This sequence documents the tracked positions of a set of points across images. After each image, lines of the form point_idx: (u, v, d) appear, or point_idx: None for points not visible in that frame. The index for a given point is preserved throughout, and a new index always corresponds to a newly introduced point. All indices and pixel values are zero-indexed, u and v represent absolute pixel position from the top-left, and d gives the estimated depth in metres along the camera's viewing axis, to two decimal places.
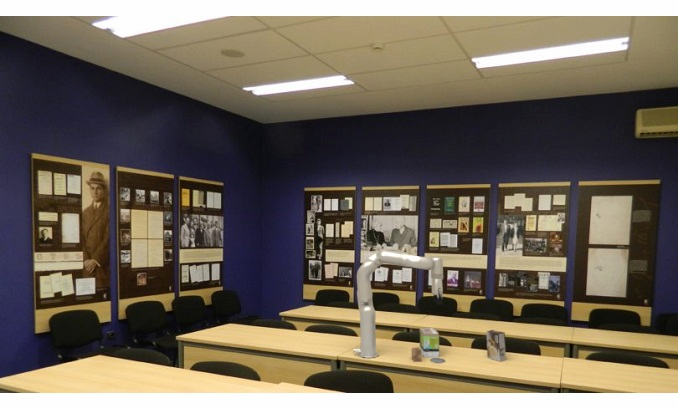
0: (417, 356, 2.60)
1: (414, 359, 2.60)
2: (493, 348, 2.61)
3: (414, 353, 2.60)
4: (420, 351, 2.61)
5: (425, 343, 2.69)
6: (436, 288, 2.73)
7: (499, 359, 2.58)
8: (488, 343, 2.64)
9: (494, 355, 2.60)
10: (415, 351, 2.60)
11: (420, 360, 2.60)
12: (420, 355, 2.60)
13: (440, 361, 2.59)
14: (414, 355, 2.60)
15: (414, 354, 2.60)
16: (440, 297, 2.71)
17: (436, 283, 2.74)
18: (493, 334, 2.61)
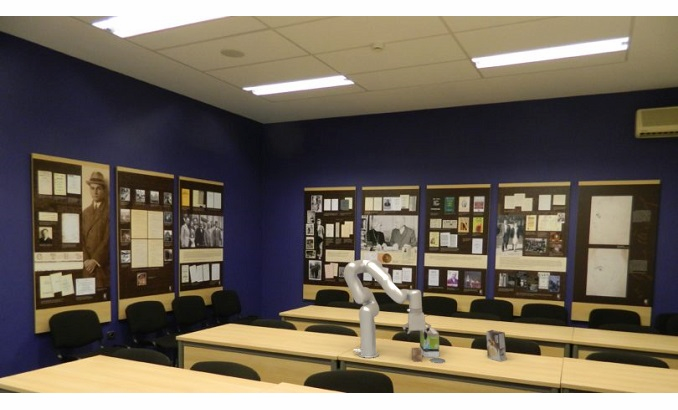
0: (417, 356, 2.60)
1: (414, 359, 2.60)
2: (493, 348, 2.61)
3: (414, 353, 2.60)
4: (420, 351, 2.61)
5: (425, 343, 2.69)
6: (425, 322, 2.62)
7: (499, 359, 2.58)
8: (488, 343, 2.64)
9: (494, 355, 2.60)
10: (415, 351, 2.60)
11: (420, 360, 2.60)
12: (420, 355, 2.60)
13: (440, 361, 2.59)
14: (414, 355, 2.60)
15: (414, 354, 2.60)
16: None
17: (424, 317, 2.62)
18: (493, 334, 2.61)
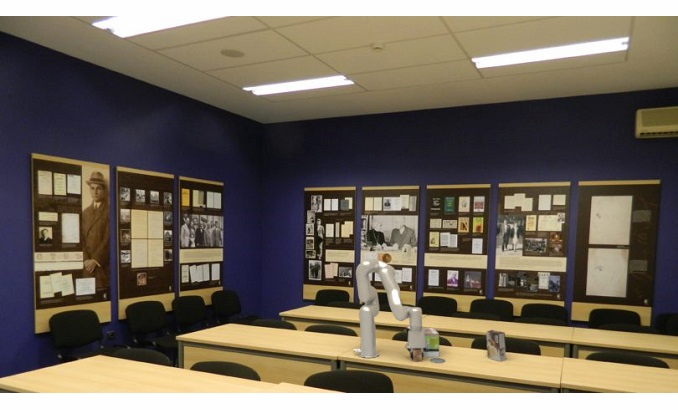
0: (417, 356, 2.60)
1: (414, 359, 2.60)
2: (493, 348, 2.61)
3: (414, 353, 2.60)
4: (420, 351, 2.61)
5: None
6: None
7: (499, 359, 2.58)
8: (488, 343, 2.64)
9: (494, 355, 2.60)
10: (415, 351, 2.60)
11: (420, 360, 2.60)
12: (420, 355, 2.60)
13: (440, 361, 2.59)
14: (414, 355, 2.60)
15: (414, 354, 2.60)
16: None
17: (424, 335, 2.62)
18: (493, 334, 2.61)
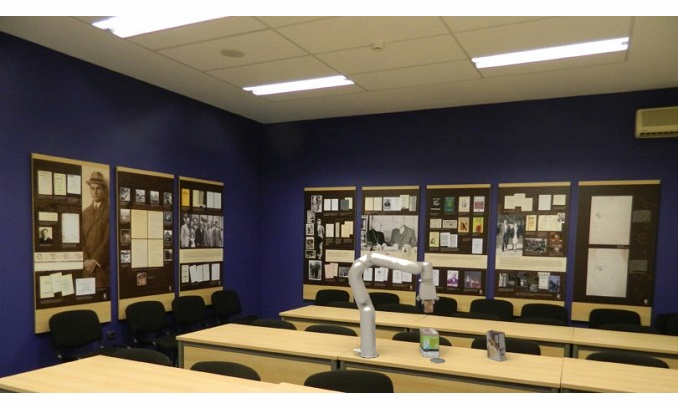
0: (428, 307, 2.74)
1: (425, 310, 2.74)
2: (493, 348, 2.61)
3: (425, 304, 2.74)
4: (431, 302, 2.74)
5: (425, 343, 2.69)
6: (435, 292, 2.75)
7: (499, 359, 2.58)
8: (488, 343, 2.64)
9: (494, 355, 2.60)
10: (426, 302, 2.74)
11: (431, 311, 2.74)
12: (431, 306, 2.74)
13: (440, 361, 2.59)
14: (425, 306, 2.74)
15: (425, 305, 2.74)
16: None
17: None
18: (493, 334, 2.61)
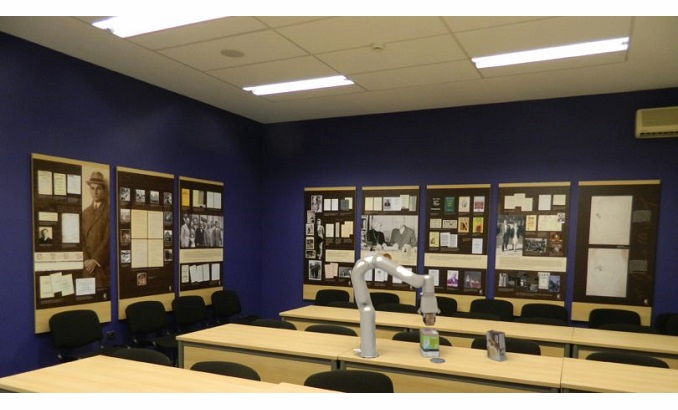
0: (430, 320, 2.74)
1: (427, 323, 2.74)
2: (493, 348, 2.61)
3: (427, 317, 2.74)
4: (432, 315, 2.75)
5: (425, 343, 2.69)
6: None
7: (499, 359, 2.58)
8: (488, 343, 2.64)
9: (494, 355, 2.60)
10: (428, 316, 2.75)
11: (432, 324, 2.74)
12: (432, 319, 2.75)
13: (440, 361, 2.59)
14: (427, 319, 2.74)
15: (427, 318, 2.74)
16: None
17: (436, 300, 2.76)
18: (493, 334, 2.61)
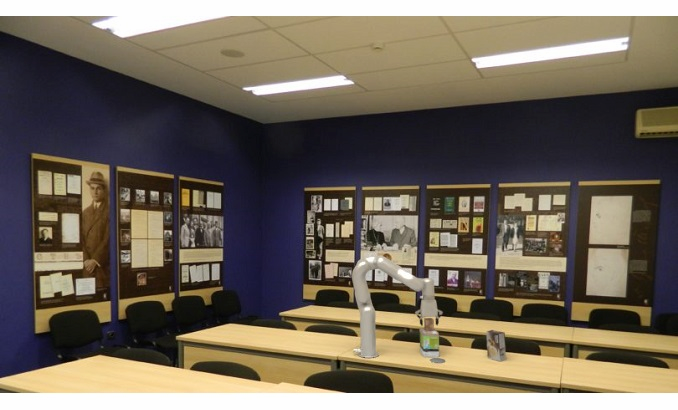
0: (429, 326, 2.74)
1: (427, 328, 2.74)
2: (493, 348, 2.61)
3: (427, 323, 2.74)
4: (432, 321, 2.74)
5: (425, 343, 2.69)
6: (437, 309, 2.76)
7: (499, 359, 2.58)
8: (488, 343, 2.64)
9: (494, 355, 2.60)
10: (428, 321, 2.74)
11: (432, 329, 2.74)
12: (432, 325, 2.74)
13: (440, 361, 2.59)
14: (427, 325, 2.74)
15: (427, 324, 2.74)
16: None
17: (436, 304, 2.76)
18: (493, 334, 2.61)
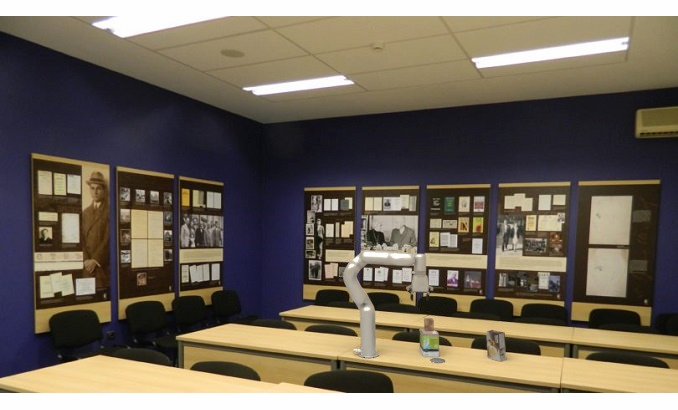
0: (429, 326, 2.74)
1: (427, 328, 2.74)
2: (493, 348, 2.61)
3: (427, 323, 2.74)
4: (432, 321, 2.74)
5: (425, 343, 2.69)
6: None
7: (499, 359, 2.58)
8: (488, 343, 2.64)
9: (494, 355, 2.60)
10: (428, 321, 2.74)
11: (432, 329, 2.74)
12: (432, 325, 2.74)
13: (440, 361, 2.59)
14: (427, 325, 2.74)
15: (427, 324, 2.74)
16: None
17: (427, 279, 2.75)
18: (493, 334, 2.61)
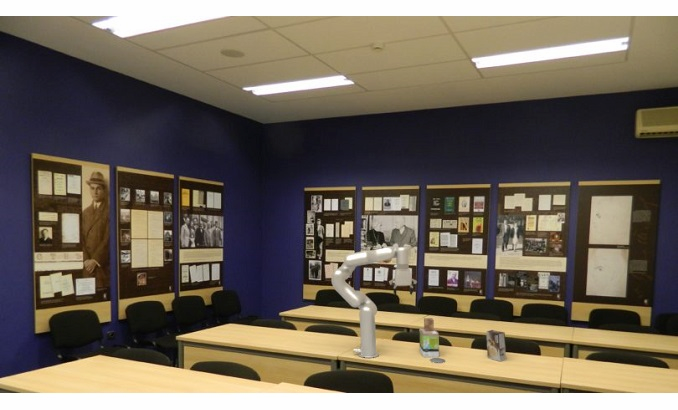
0: (429, 326, 2.74)
1: (426, 328, 2.74)
2: (493, 348, 2.61)
3: (426, 323, 2.74)
4: (432, 321, 2.74)
5: (425, 343, 2.69)
6: (411, 278, 2.70)
7: (499, 359, 2.58)
8: (488, 343, 2.64)
9: (494, 355, 2.60)
10: (427, 321, 2.74)
11: (432, 329, 2.74)
12: (432, 325, 2.74)
13: (440, 361, 2.59)
14: (426, 325, 2.74)
15: (426, 324, 2.74)
16: None
17: (410, 273, 2.71)
18: (493, 334, 2.61)
